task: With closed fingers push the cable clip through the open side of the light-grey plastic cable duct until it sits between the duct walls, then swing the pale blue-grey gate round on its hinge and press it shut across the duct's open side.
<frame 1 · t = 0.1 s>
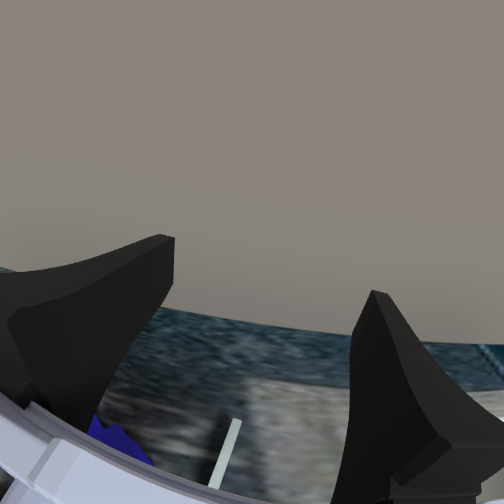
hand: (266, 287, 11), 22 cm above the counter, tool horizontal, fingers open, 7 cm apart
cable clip: (100, 441, 23), on the counter
gate: (221, 466, 22), point 2 cm above the counter, hinge at -90.0°
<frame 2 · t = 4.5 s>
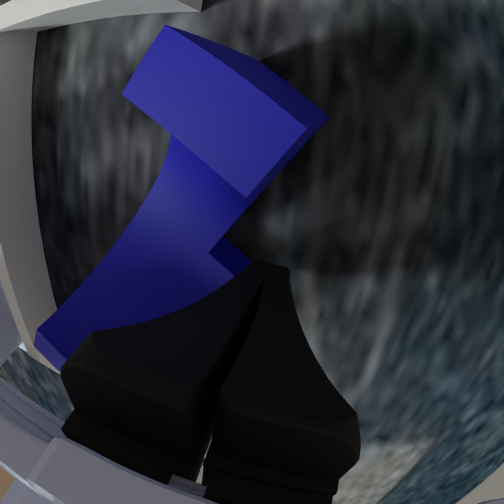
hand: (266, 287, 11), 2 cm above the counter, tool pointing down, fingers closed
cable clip: (210, 222, 13), on the counter, touching gripper
gate: (237, 439, 17), point 2 cm above the counter, hinge at -90.0°
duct: (84, 212, 14), on the counter
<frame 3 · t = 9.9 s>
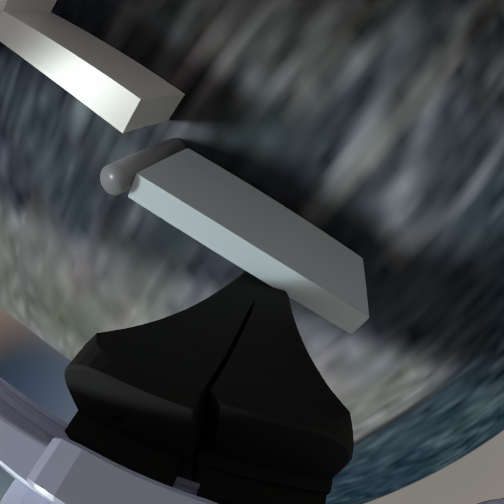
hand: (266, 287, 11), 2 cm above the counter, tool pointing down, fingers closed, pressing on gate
gate: (248, 223, 10), point 2 cm above the counter, hinge at -82.5°, touching gripper
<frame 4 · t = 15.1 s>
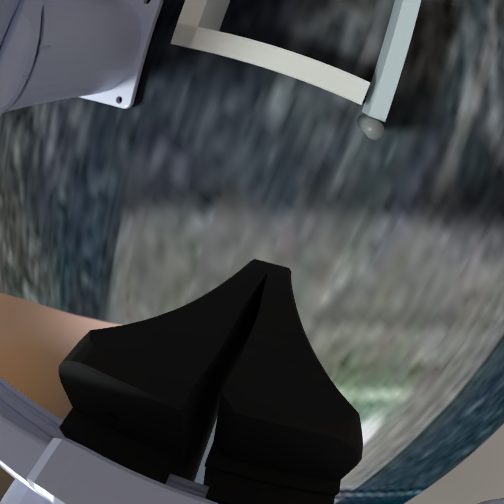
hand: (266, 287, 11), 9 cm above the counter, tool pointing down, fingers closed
gate: (391, 57, 13), point 2 cm above the counter, hinge at 4.2°
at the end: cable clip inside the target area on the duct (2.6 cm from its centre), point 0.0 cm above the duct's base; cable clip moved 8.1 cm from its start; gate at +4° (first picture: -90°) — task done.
